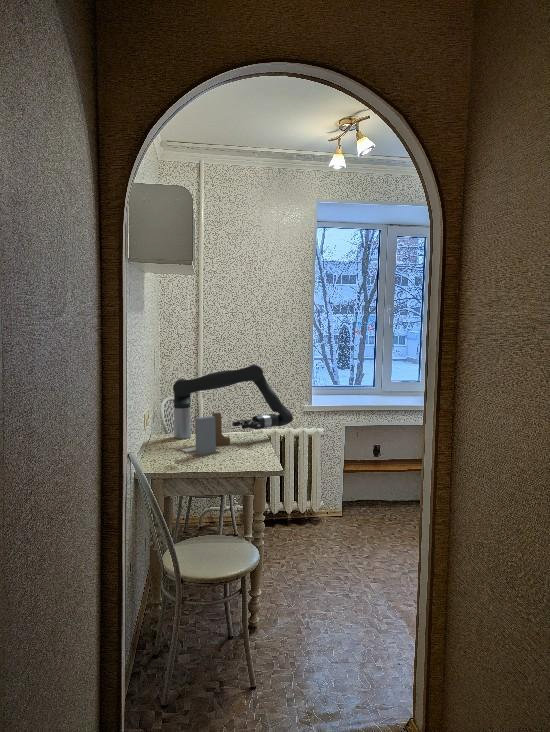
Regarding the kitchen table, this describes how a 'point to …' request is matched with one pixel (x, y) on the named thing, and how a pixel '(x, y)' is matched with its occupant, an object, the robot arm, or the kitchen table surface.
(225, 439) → the wooden block
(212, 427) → the slate post
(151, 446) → the kitchen table surface
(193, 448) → the base board
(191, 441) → the kitchen table surface
